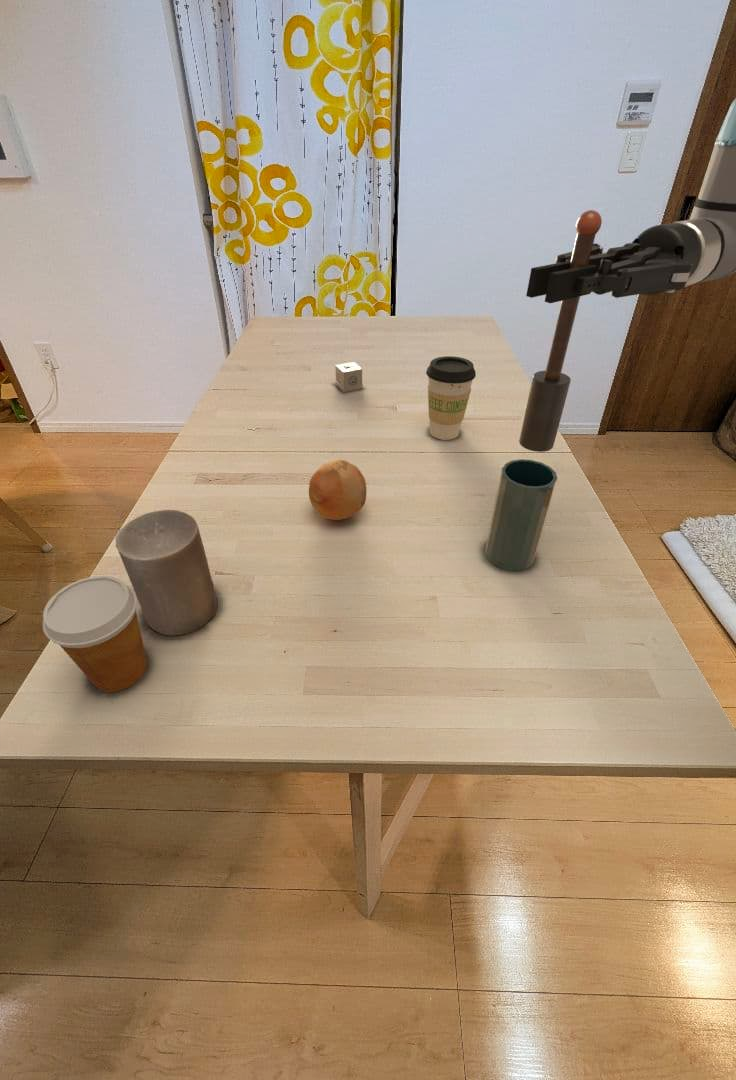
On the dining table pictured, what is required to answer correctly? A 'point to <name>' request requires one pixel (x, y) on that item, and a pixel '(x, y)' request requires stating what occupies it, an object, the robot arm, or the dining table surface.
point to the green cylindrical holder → (519, 513)
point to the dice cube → (348, 376)
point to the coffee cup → (448, 394)
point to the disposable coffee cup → (98, 630)
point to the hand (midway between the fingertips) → (541, 285)
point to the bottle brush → (557, 355)
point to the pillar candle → (168, 571)
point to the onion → (337, 490)
